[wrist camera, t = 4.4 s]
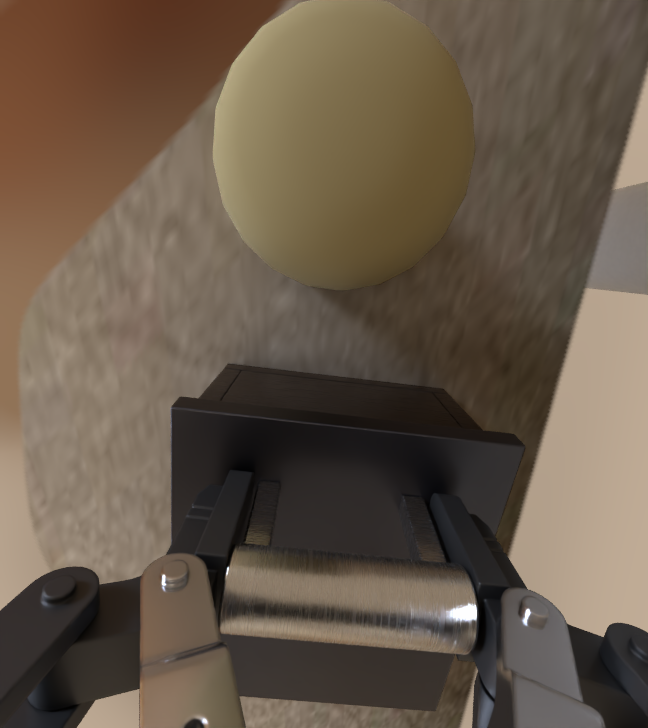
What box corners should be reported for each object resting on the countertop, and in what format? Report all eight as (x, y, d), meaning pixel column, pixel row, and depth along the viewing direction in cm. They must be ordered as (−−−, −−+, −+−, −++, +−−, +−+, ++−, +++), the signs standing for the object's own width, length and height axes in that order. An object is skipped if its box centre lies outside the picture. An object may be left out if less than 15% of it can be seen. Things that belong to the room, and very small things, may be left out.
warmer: (227, 363, 19) (189, 407, 13) (443, 388, 19) (495, 441, 14) (215, 563, 22) (179, 668, 16) (402, 580, 22) (430, 689, 17)
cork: (419, 163, 17) (597, -6, 6) (372, 300, 18) (449, 359, 7) (281, 114, 16) (209, -167, 5) (245, 260, 18) (132, 262, 7)
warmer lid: (179, 395, 12) (81, 512, 7) (514, 433, 12) (638, 567, 8) (178, 669, 16) (115, 863, 11) (430, 690, 17) (476, 884, 12)
